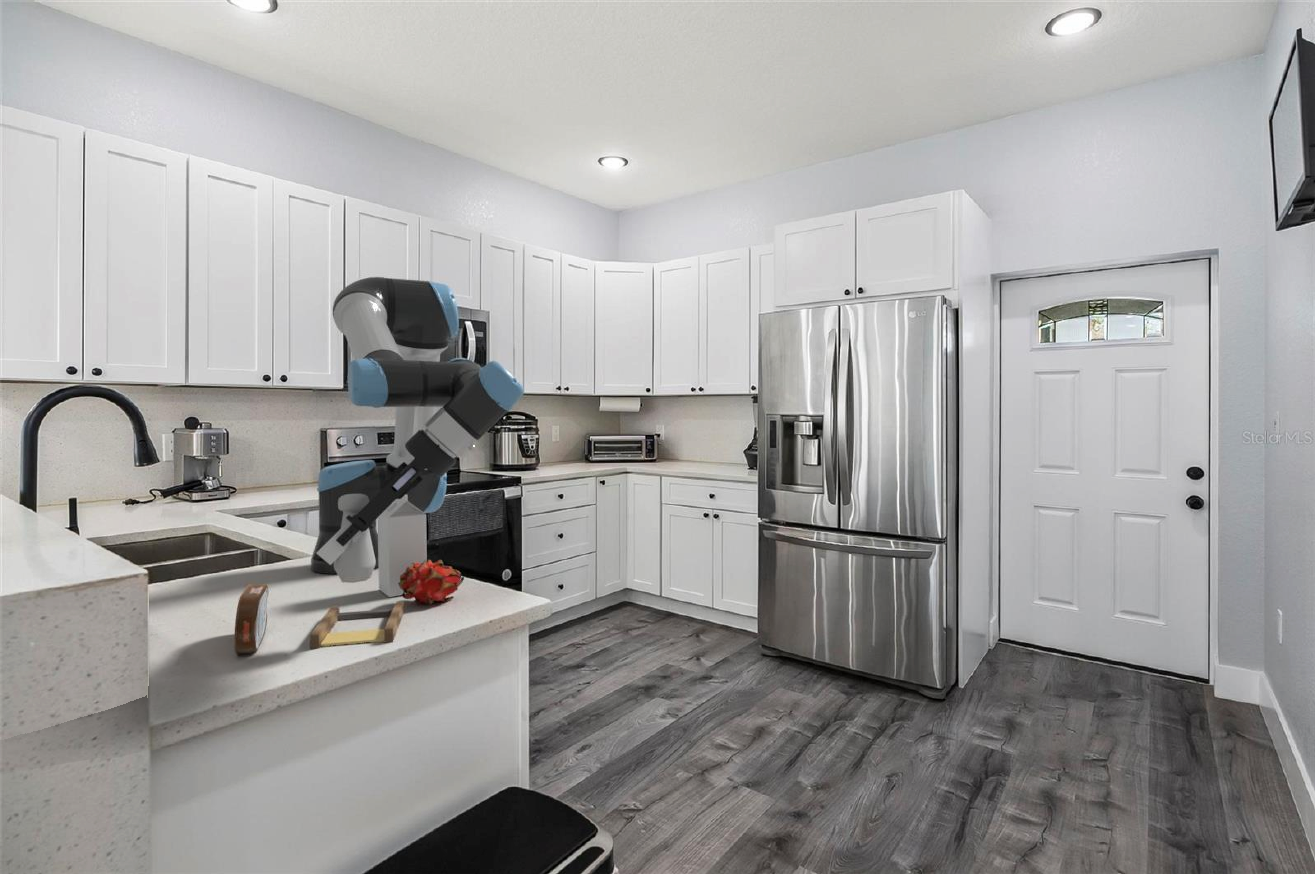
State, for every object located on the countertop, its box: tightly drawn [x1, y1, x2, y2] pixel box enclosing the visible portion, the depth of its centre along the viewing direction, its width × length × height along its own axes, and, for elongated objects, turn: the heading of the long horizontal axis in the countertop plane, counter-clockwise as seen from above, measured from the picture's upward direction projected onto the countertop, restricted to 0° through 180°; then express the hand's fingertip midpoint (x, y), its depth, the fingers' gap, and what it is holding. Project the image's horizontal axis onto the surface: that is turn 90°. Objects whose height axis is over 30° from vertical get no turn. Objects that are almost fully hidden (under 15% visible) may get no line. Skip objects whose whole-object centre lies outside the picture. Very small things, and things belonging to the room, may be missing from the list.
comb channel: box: [309, 600, 405, 650], centre depth 107 cm, size 15×11×2 cm
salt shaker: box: [334, 494, 376, 584], centre depth 102 cm, size 6×6×13 cm
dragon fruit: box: [398, 559, 465, 605], centre depth 122 cm, size 8×8×12 cm
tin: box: [233, 583, 269, 655], centre depth 100 cm, size 15×3×8 cm, turn 24°
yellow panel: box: [320, 628, 385, 647], centre depth 103 cm, size 5×9×1 cm, turn 105°
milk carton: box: [377, 494, 428, 598], centre depth 129 cm, size 7×7×19 cm
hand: (326, 555), depth 101 cm, fingers closed on salt shaker, 3 cm apart
